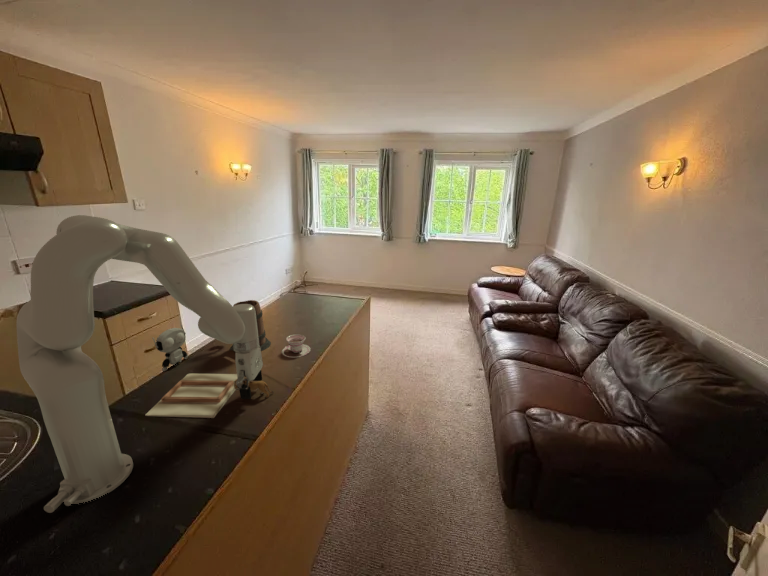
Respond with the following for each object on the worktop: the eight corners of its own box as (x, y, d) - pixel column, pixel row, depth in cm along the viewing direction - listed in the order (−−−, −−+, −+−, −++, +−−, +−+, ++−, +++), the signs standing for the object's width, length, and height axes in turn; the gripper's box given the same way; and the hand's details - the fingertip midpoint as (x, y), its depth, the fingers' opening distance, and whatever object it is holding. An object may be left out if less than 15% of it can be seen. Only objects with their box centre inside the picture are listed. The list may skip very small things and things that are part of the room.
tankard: (278, 340, 143) (275, 299, 137) (256, 358, 127) (251, 313, 122) (234, 334, 148) (229, 294, 142) (207, 350, 132) (200, 307, 126)
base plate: (214, 419, 93) (213, 411, 92) (146, 419, 92) (144, 411, 92) (244, 377, 114) (243, 371, 113) (188, 377, 114) (187, 370, 113)
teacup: (316, 349, 136) (315, 336, 134) (295, 361, 126) (294, 347, 125) (296, 342, 142) (296, 330, 140) (275, 353, 132) (274, 340, 131)
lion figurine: (234, 403, 101) (232, 383, 98) (236, 395, 104) (234, 376, 102) (273, 397, 104) (272, 378, 102) (274, 389, 108) (272, 371, 106)
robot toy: (167, 374, 115) (160, 337, 110) (158, 372, 116) (150, 336, 111) (194, 358, 126) (189, 324, 122) (185, 356, 127) (179, 323, 123)
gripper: (247, 357, 90) (253, 406, 95) (267, 331, 106) (271, 374, 112) (221, 356, 90) (228, 406, 95) (245, 330, 106) (250, 374, 111)
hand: (252, 389), depth 103 cm, fingers open, 9 cm apart
